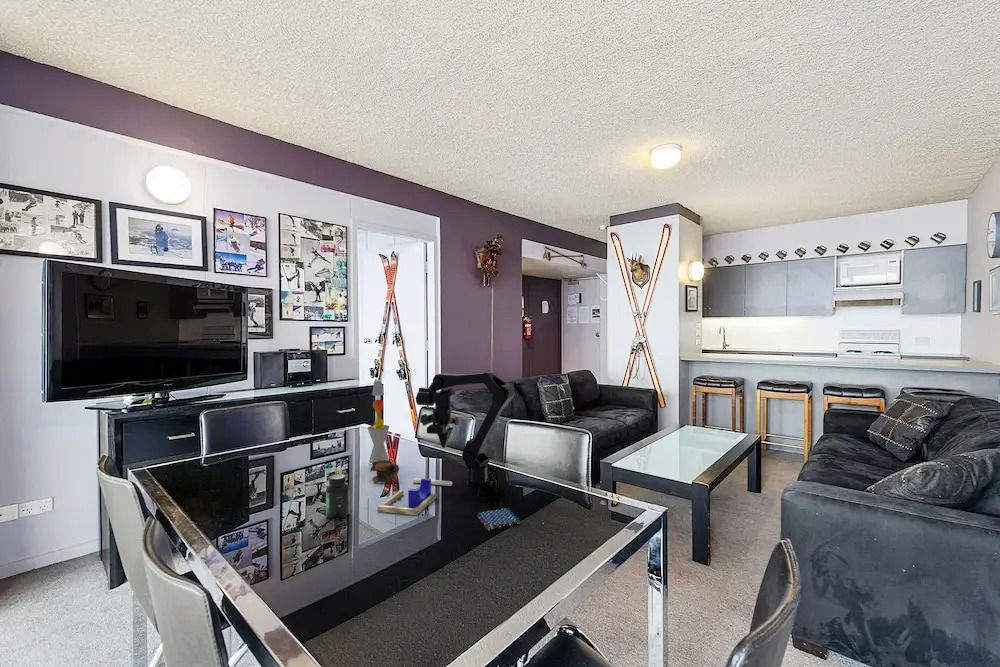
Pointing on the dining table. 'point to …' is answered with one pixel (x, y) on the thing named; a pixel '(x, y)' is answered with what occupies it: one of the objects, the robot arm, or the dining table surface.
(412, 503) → the cable clip
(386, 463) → the pottery mug
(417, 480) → the white peg
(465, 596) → the dining table surface
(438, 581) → the dining table surface
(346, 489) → the supplement bottle
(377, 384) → the lava lamp
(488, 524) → the woven mat
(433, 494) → the frame
